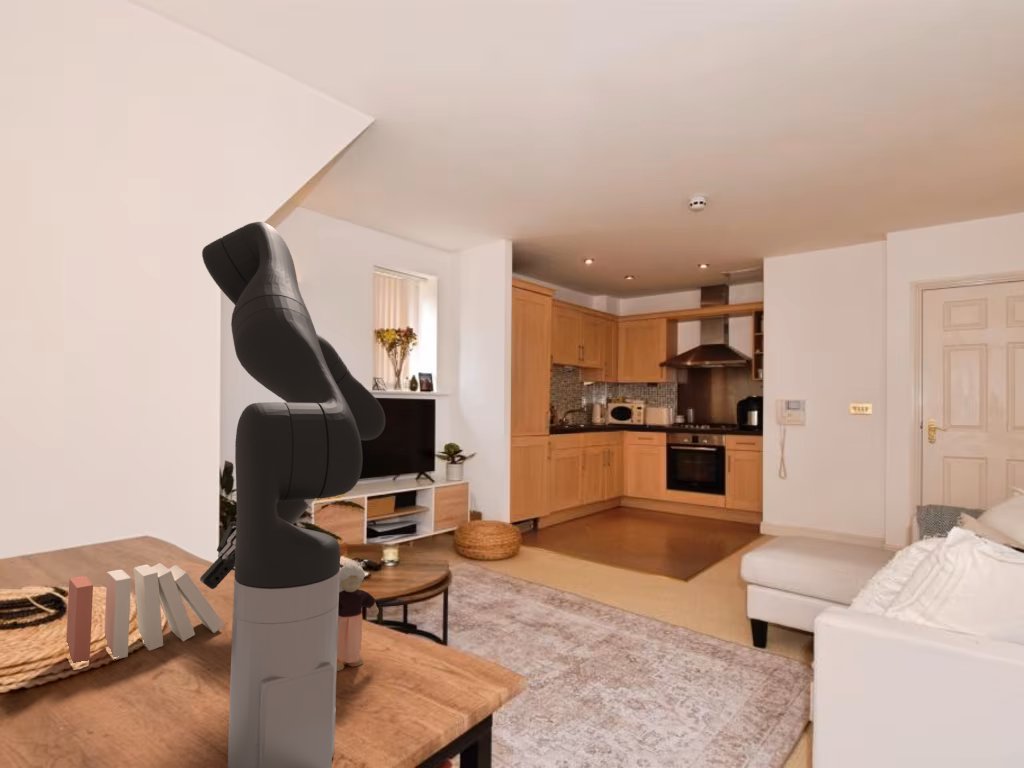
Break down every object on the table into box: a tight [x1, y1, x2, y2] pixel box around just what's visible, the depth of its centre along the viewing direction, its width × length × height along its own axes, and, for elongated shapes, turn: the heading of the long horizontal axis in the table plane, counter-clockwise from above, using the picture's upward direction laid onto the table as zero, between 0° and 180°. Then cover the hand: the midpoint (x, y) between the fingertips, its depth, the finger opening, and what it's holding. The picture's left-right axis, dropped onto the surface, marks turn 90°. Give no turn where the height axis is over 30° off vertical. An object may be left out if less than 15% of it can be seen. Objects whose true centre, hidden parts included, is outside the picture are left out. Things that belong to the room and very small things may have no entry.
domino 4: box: [150, 562, 196, 642], centre depth 78 cm, size 5×2×10 cm, turn 47°
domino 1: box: [65, 575, 94, 663], centre depth 70 cm, size 5×2×10 cm, turn 47°
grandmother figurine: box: [336, 562, 380, 672], centre depth 72 cm, size 8×4×13 cm, turn 136°
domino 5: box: [168, 564, 225, 634], centre depth 80 cm, size 5×2×10 cm
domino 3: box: [133, 563, 164, 651], centre depth 76 cm, size 5×2×10 cm, turn 47°
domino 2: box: [103, 569, 132, 661], centre depth 73 cm, size 5×2×10 cm, turn 47°
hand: (205, 584), depth 81 cm, fingers closed
